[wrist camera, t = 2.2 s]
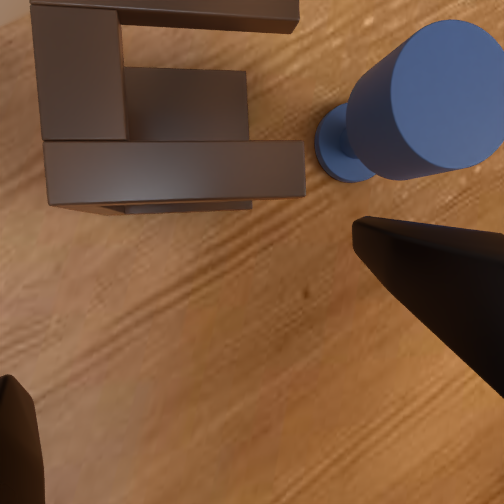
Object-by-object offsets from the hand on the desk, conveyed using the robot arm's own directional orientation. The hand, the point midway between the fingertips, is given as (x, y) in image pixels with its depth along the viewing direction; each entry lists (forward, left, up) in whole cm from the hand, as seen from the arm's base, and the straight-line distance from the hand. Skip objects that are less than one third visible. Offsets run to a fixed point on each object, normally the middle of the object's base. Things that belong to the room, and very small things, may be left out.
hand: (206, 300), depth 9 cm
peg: (-4, -12, -14) cm, 19 cm away
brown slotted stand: (+4, -5, -14) cm, 16 cm away
